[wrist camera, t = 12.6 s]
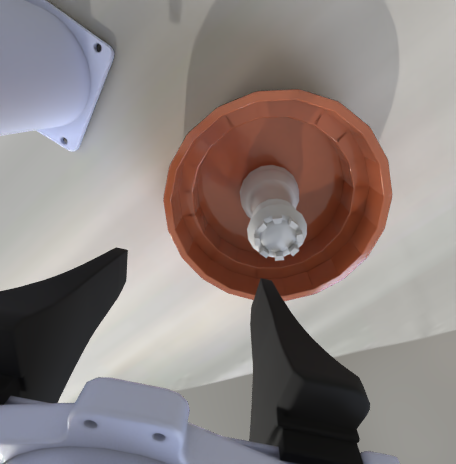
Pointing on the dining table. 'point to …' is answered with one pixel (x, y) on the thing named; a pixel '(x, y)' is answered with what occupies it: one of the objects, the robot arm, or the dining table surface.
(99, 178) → the dining table surface
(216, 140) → the bowl
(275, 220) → the rook chess piece
